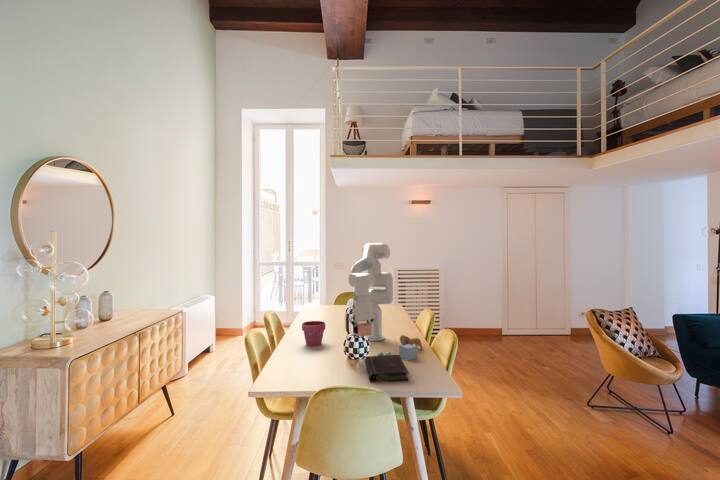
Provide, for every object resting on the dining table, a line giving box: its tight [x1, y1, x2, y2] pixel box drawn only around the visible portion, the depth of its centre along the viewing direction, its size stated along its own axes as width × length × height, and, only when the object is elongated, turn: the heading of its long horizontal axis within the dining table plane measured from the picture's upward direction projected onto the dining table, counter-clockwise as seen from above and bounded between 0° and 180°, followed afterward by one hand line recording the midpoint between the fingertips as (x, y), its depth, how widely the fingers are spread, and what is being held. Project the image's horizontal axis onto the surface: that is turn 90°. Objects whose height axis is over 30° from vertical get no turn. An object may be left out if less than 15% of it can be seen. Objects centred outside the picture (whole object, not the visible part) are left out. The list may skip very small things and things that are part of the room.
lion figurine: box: [399, 334, 424, 351], centre depth 222 cm, size 15×5×9 cm, turn 111°
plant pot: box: [301, 320, 326, 347], centre depth 235 cm, size 14×14×13 cm
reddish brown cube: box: [352, 321, 371, 338], centre depth 202 cm, size 7×7×6 cm
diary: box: [364, 354, 410, 383], centre depth 186 cm, size 19×25×5 cm
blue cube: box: [398, 344, 419, 361], centre depth 208 cm, size 7×7×6 cm
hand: (362, 332), depth 202 cm, fingers closed on reddish brown cube, 7 cm apart
